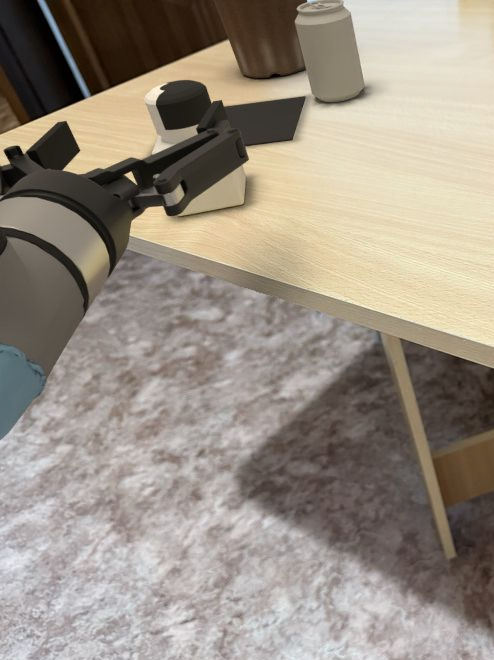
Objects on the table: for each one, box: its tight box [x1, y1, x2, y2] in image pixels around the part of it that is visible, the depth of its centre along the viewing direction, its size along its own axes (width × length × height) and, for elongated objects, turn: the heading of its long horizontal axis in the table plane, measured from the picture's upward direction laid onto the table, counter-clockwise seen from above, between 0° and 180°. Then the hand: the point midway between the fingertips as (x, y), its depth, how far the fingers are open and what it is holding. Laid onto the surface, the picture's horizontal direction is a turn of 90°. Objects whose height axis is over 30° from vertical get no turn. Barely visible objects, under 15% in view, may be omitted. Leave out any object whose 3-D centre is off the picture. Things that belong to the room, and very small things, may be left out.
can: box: [295, 0, 365, 103], centre depth 94 cm, size 8×8×12 cm
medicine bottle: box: [143, 79, 247, 217], centre depth 72 cm, size 7×7×12 cm
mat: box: [150, 95, 306, 156], centre depth 92 cm, size 18×16×1 cm
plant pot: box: [213, 0, 308, 79], centre depth 107 cm, size 16×16×16 cm
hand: (146, 126), depth 60 cm, fingers open, 13 cm apart
